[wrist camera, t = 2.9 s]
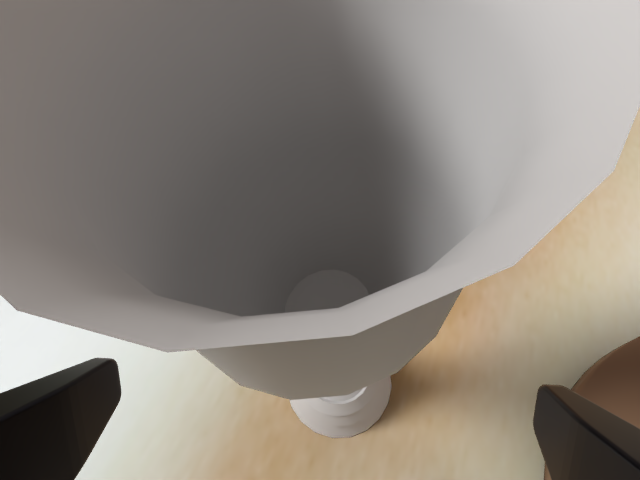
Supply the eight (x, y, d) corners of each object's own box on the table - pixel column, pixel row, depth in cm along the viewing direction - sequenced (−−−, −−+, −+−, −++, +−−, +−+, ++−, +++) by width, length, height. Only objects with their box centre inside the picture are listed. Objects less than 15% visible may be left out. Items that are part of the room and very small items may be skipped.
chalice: (377, 496, 17) (586, 622, 2) (240, 422, 19) (-253, 162, 4) (430, 340, 20) (672, -109, 5) (309, 290, 22) (206, -150, 7)
